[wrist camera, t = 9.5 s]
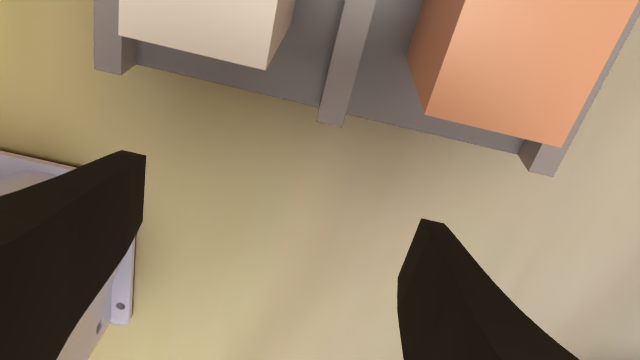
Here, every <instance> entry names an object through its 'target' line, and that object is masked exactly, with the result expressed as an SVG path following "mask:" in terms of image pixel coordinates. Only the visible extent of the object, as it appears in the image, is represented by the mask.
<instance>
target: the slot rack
mask: <svg viewBox="0 0 640 360" xmlns="http://www.w3.org/2000/svg"><path fill="white" fill-rule="evenodd" d="M422 3H423V0H296V2H295V7H294V12H293V17H292V22H291V25H290V27H289V29H288V30H287V32H286V34H285V36H284V38H283V40H282V41H281V43H280V45H279V47H278V49H277V50H276V52H275V54H274V56H273V58H272V60H271V61H270V63H269V65H268V67H267V69H266V70H262V69H257V68H253V67H249V66H245V65H241V64H236V63H232V62H228V61H224V60H220V59H216V58H211V57H207V56H203V55H199V54H195V53H191V52H186V51H182V50H178V49H174V48H170V47H166V46H161V45H157V44H153V43H149V42H145V41H141V40H136V39H132V38H128V37H124V36H120V35H118V21H119V0H94V69H95V70H100V71H104V72H108V73H112V74H117V75H122V74H124V73H125V72H126V71H128V70H129V69H130V68H132V67H133V66H135V65H136V64H138V65H142V66H147V67H151V68H155V69H159V70H163V71H168V72H172V73H176V74H180V75H184V76H189V77H193V78H197V79H201V80H206V81H210V82H214V83H218V84H222V85H227V86H231V87H235V88H239V89H243V90H248V91H252V92H256V93H260V94H265V95H269V96H273V97H277V98H281V99H286V100H290V101H294V102H298V103H302V104H307V105H311V106H315V107H319V111H318V116H317V121H316V122H320V123H325V124H329V125H333V126H337V127H342V126H343V122H344V118H345V114H349V115H353V116H357V117H362V118H366V119H370V120H374V121H378V122H383V123H387V124H391V125H395V126H399V127H404V128H408V129H412V130H416V131H421V132H425V133H429V134H433V135H437V136H442V137H446V138H450V139H454V140H458V141H463V142H467V143H471V144H475V145H480V146H484V147H488V148H492V149H496V150H501V151H505V152H509V153H513V154H517V155H518V156H519V157H520V159H521V161H522V162H523V164H524V165H525V167H526V168H527V170H528V171H529V172H533V173H537V174H541V175H545V176H550V177H553V176H554V174H555V172H556V171H557V169H558V167H559V165H560V163H561V161H562V159H563V157H564V155H565V154H566V152H567V150H568V148H569V146H570V144H571V142H572V140H573V139H574V137H575V135H576V133H577V131H578V129H579V127H580V125H581V124H582V122H583V120H584V118H585V116H586V114H587V112H588V110H589V108H590V107H591V105H592V103H593V101H594V99H595V97H596V95H597V93H598V92H599V90H600V88H601V86H602V84H603V82H604V80H605V78H606V77H607V75H608V73H609V71H610V69H611V67H612V65H613V63H614V62H615V60H616V58H617V56H618V54H619V52H620V50H621V48H622V46H623V45H624V43H625V41H626V39H627V37H628V35H629V33H630V31H631V30H632V28H633V26H634V24H635V22H636V20H637V18H638V16H639V15H640V0H639V1H638V3H637V5H636V7H635V9H634V11H633V13H632V14H631V16H630V18H629V20H628V22H627V24H626V26H625V28H624V30H623V32H622V33H621V35H620V37H619V39H618V41H617V43H616V45H615V47H614V49H613V51H612V52H611V54H610V56H609V58H608V60H607V62H606V64H605V66H604V68H603V69H602V71H601V73H600V75H599V77H598V79H597V81H596V83H595V85H594V87H593V88H592V90H591V92H590V94H589V96H588V98H587V100H586V102H585V104H584V106H583V107H582V109H581V111H580V113H579V115H578V117H577V119H576V121H575V123H574V125H573V126H572V128H571V130H570V132H569V134H568V136H567V138H566V140H565V142H564V143H563V145H562V147H561V148H560V147H556V146H551V145H547V144H543V143H539V142H535V141H531V140H527V139H523V138H518V137H514V136H510V135H506V134H502V133H498V132H494V131H489V130H485V129H481V128H477V127H473V126H469V125H465V124H461V123H456V122H452V121H448V120H444V119H440V118H436V117H432V116H427V115H424V112H423V109H422V106H421V103H420V100H419V97H418V94H417V90H416V87H415V84H414V81H413V78H412V75H411V72H410V69H409V65H408V62H407V59H406V54H407V51H408V47H409V44H410V41H411V38H412V35H413V32H414V29H415V25H416V22H417V19H418V16H419V13H420V10H421V7H422Z"/></svg>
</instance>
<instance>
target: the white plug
mask: <svg viewBox="0 0 640 360" xmlns="http://www.w3.org/2000/svg"><path fill="white" fill-rule="evenodd" d="M295 2H296V0H119V21H118V35H120V36H124V37H128V38H132V39H136V40H141V41H145V42H149V43H153V44H157V45H161V46H166V47H170V48H174V49H178V50H182V51H186V52H191V53H195V54H199V55H203V56H207V57H211V58H216V59H220V60H224V61H228V62H232V63H236V64H241V65H245V66H249V67H253V68H257V69H262V70H266V69H267V67H268V65H269V63H270V61H271V60H272V58H273V56H274V54H275V52H276V50H277V49H278V47H279V45H280V43H281V41H282V40H283V38H284V36H285V34H286V32H287V30H288V29H289V27H290V25H291V22H292V17H293V12H294V7H295Z"/></svg>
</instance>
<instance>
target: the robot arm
mask: <svg viewBox="0 0 640 360" xmlns="http://www.w3.org/2000/svg"><path fill="white" fill-rule="evenodd" d="M145 166H146V156H145V155H141V154H137V153H132V152H128V151H123V150H121V151H118V152H115V153H113V154H110V155H107V156H105V157H103V158H100V159H98V160H95V161H93V162H91V163H88V164H86V165H83V166H81V167H79V168H76V167H71V166H67V165H63V164H58V163H54V162H49V161H45V160H40V159H36V158H31V157H27V156H23V155H18V154H14V153H9V152H5V151H0V360H88V358H89V357H90V355H91V353H92V352H93V350H94V348H95V347H96V345H97V343H98V341H99V340H100V338H101V336H102V335H103V333H104V331H105V330H106V328H107V326H108V325H109V323H114V324H118V325H126V324H128V323H129V321H130V319H131V317H132V297H133V276H134V254H135V236H136V234H137V232H138V230H139V227H140V225H141V223H142V221H143V203H144V185H145ZM121 303H123V304H124V305H123V304H121ZM397 311H398V320H399V328H400V336H401V343H402V350H403V358H404V360H579V359H578V358H577V357H575V356H574V355H573V354H571V353H570V352H569V351H568V350H566V349H565V348H564V347H562V346H561V345H560V344H559V343H557V342H556V341H555V340H554V339H552V338H551V337H550V336H549V335H548V334H546V333H545V332H544V331H543V330H542V329H541V328H540V327H539V326H538V325H536V324H535V323H534V322H533V321H532V320H531V319H530V318H529V317H528V316H526V315H525V314H524V313H523V312H522V311H521V310H520V309H519V308H518V307H517V306H516V305H515V304H514V303H513V302H512V301H511V300H510V299H509V298H508V297H507V296H506V295H505V294H504V293H503V291H502V290H501V289H500V288H499V287H498V286H497V285H496V284H495V283H494V282H493V281H492V279H491V278H490V277H489V276H488V275H487V274H486V273H485V272H484V270H483V269H482V268H481V267H480V266H479V264H478V263H477V262H476V261H475V260H474V258H473V257H472V256H471V255H470V254H469V252H468V251H467V250H466V249H465V247H464V246H463V245H462V244H461V243H460V241H459V240H458V239H457V238H456V236H455V235H454V234H453V233H452V232H451V231H450V229H449V228H448V227H447V226H446V225H445V224H444V223H440V222H435V221H431V220H426V219H422V218H421V220H420V223H419V225H418V228H417V231H416V233H415V236H414V238H413V241H412V243H411V246H410V248H409V251H408V253H407V256H406V258H405V261H404V263H403V266H402V268H401V271H400V273H399V276H398V291H397Z"/></svg>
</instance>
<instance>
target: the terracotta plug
mask: <svg viewBox="0 0 640 360" xmlns="http://www.w3.org/2000/svg"><path fill="white" fill-rule="evenodd" d="M638 1H639V0H423V3H422V7H421V10H420V13H419V16H418V19H417V22H416V25H415V29H414V32H413V35H412V38H411V41H410V44H409V47H408V51H407V54H406V59H407V62H408V65H409V69H410V72H411V75H412V78H413V81H414V84H415V87H416V90H417V94H418V97H419V100H420V103H421V106H422V109H423V112H424V115H427V116H432V117H436V118H440V119H444V120H448V121H452V122H456V123H461V124H465V125H469V126H473V127H477V128H481V129H485V130H489V131H494V132H498V133H502V134H506V135H510V136H514V137H518V138H523V139H527V140H531V141H535V142H539V143H543V144H547V145H551V146H556V147H560V148H561V147H562V145H563V143H564V142H565V140H566V138H567V136H568V134H569V132H570V130H571V128H572V126H573V125H574V123H575V121H576V119H577V117H578V115H579V113H580V111H581V109H582V107H583V106H584V104H585V102H586V100H587V98H588V96H589V94H590V92H591V90H592V88H593V87H594V85H595V83H596V81H597V79H598V77H599V75H600V73H601V71H602V69H603V68H604V66H605V64H606V62H607V60H608V58H609V56H610V54H611V52H612V51H613V49H614V47H615V45H616V43H617V41H618V39H619V37H620V35H621V33H622V32H623V30H624V28H625V26H626V24H627V22H628V20H629V18H630V16H631V14H632V13H633V11H634V9H635V7H636V5H637V3H638Z"/></svg>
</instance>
